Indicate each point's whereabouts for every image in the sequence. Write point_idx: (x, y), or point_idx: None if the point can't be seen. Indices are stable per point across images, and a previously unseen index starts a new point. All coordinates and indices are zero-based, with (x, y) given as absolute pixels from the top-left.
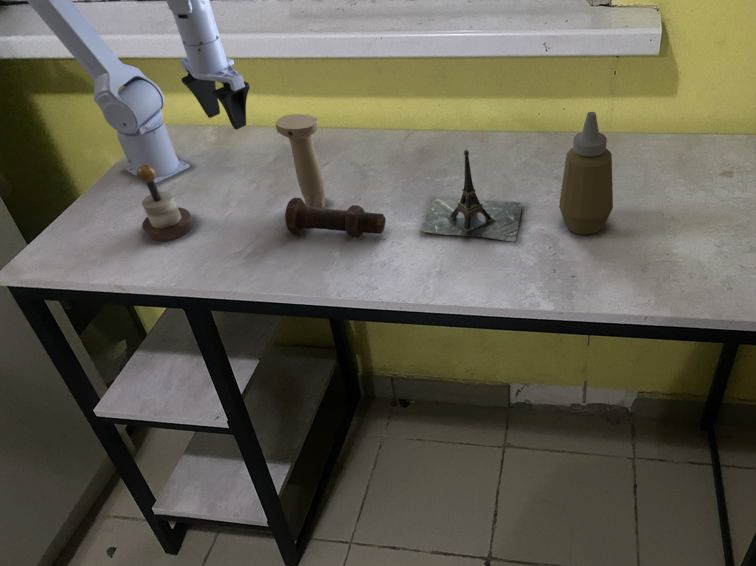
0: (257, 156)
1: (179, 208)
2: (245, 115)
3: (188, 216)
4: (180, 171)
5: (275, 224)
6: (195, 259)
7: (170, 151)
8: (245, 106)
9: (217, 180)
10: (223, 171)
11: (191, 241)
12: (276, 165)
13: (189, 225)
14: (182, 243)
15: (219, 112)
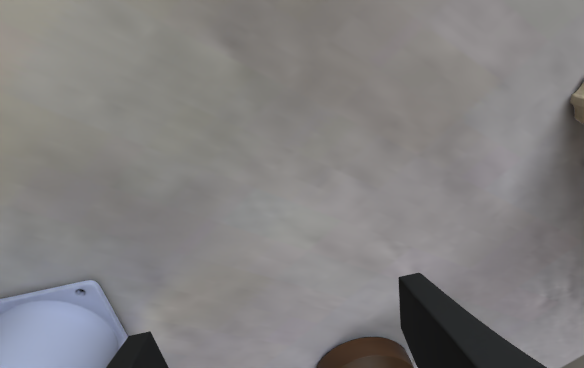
0: (158, 86)
1: (347, 366)
2: (463, 309)
3: (395, 360)
4: (109, 304)
5: (545, 212)
6: None
7: (69, 362)
8: (525, 355)
9: (231, 244)
10: (188, 214)
11: None
12: (277, 63)
13: (405, 354)
14: None
15: (147, 338)
